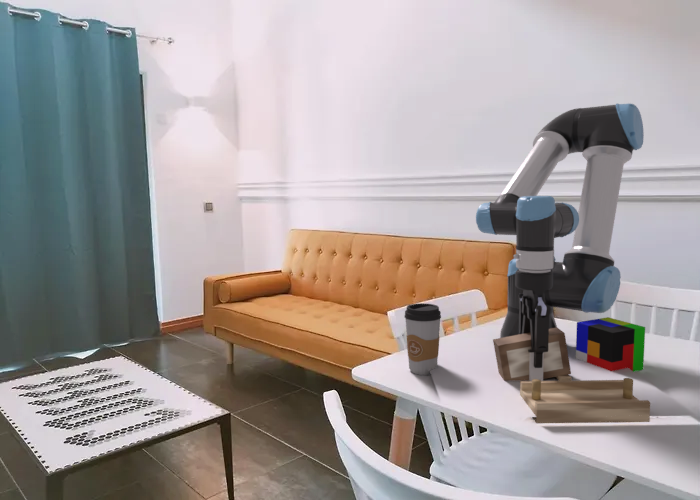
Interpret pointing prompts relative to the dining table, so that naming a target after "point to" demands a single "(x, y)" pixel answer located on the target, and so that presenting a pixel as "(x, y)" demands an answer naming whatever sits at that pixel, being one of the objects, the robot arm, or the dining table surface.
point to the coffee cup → (422, 337)
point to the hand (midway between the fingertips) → (532, 376)
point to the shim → (564, 378)
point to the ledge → (584, 401)
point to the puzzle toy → (611, 344)
